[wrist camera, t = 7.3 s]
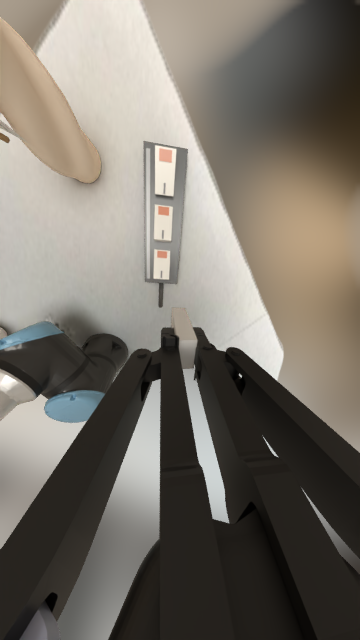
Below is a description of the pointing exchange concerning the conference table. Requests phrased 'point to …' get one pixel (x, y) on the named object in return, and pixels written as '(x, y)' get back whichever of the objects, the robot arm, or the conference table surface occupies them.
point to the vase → (2, 333)
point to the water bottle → (41, 112)
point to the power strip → (173, 201)
